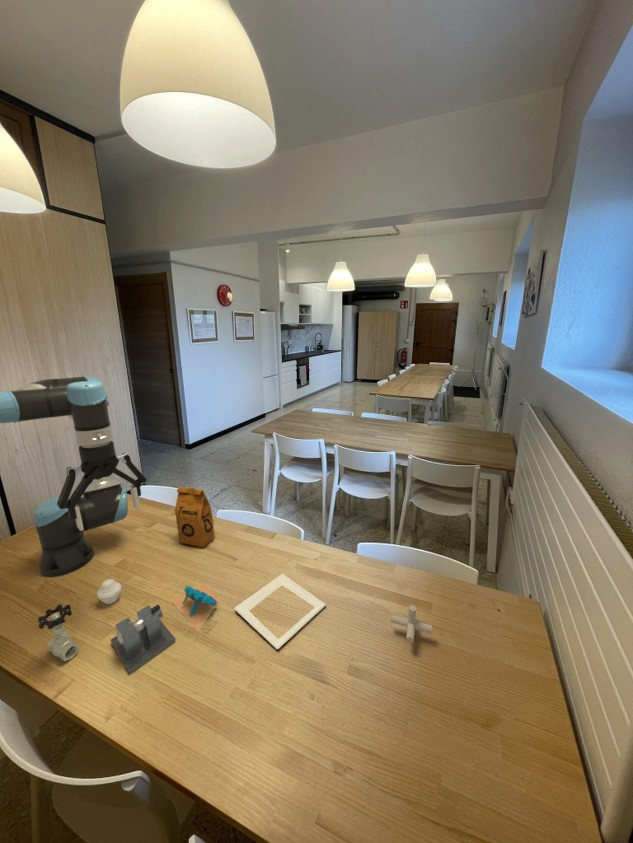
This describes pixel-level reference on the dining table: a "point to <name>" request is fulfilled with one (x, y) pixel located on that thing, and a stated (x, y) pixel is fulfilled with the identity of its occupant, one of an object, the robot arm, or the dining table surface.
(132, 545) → the dining table surface
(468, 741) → the dining table surface
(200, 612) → the pad
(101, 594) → the white rounded lump
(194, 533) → the coffee package
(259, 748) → the dining table surface
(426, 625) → the pipe connector
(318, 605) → the white square picture frame
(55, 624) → the valve
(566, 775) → the dining table surface
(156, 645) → the shaft stand
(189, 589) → the gear
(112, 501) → the robot arm
